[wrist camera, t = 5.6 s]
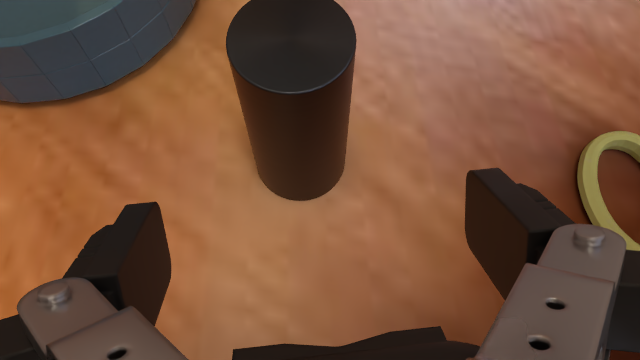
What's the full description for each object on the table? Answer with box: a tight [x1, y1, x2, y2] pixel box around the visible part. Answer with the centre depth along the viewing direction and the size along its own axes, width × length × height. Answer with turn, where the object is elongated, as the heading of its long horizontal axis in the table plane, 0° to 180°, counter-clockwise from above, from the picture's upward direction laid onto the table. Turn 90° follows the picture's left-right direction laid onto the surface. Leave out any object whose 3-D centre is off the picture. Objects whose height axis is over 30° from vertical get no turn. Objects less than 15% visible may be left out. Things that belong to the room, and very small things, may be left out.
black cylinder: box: [226, 0, 356, 201], centre depth 25 cm, size 5×5×10 cm
